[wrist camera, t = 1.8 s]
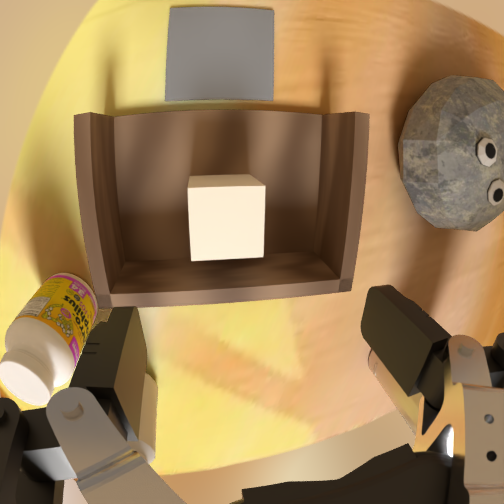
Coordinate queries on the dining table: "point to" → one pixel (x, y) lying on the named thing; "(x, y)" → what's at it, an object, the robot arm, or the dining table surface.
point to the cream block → (226, 217)
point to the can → (147, 421)
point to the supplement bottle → (48, 338)
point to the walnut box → (219, 163)
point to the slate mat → (220, 54)
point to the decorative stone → (455, 153)
